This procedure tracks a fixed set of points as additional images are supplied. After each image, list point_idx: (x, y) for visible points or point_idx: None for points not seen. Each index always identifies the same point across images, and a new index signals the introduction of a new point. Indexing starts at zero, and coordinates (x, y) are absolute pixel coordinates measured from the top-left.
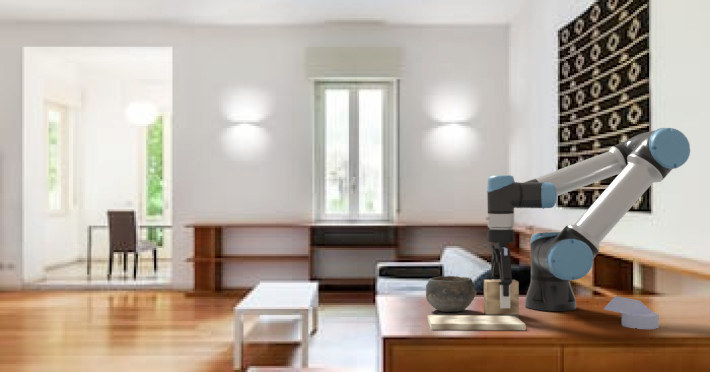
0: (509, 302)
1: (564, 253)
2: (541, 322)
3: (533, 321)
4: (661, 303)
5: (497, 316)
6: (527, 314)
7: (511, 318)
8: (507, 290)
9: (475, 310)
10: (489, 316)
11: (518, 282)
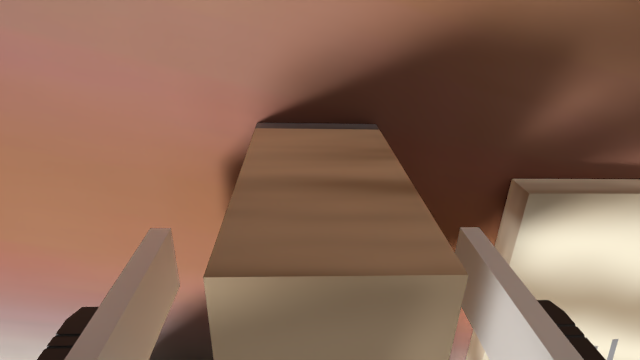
0: (497, 256)
1: None
2: (582, 16)
3: (536, 64)
4: None
5: (528, 287)
6: (269, 33)
7: (606, 230)
8: (586, 352)
9: None
10: None
11: (465, 271)
